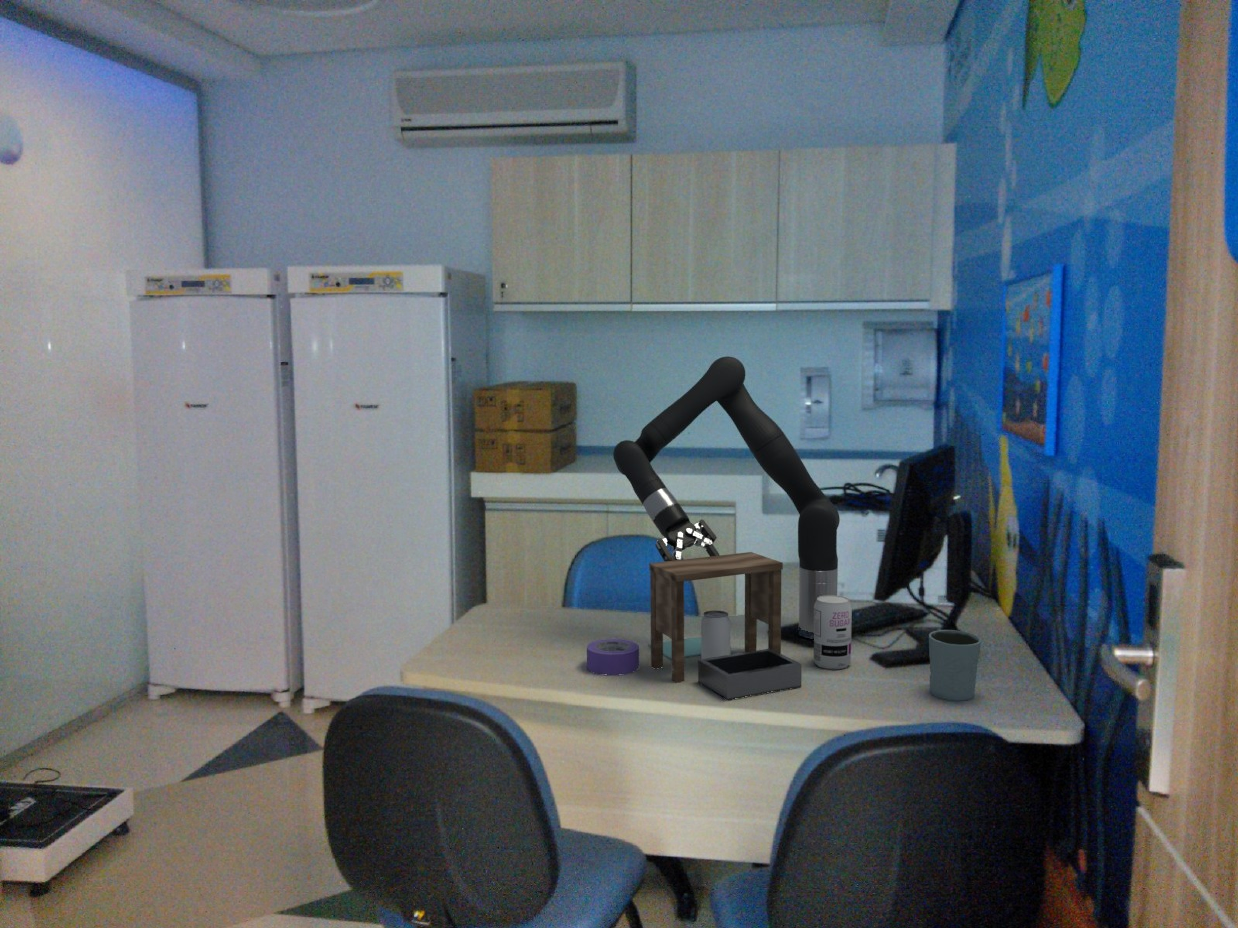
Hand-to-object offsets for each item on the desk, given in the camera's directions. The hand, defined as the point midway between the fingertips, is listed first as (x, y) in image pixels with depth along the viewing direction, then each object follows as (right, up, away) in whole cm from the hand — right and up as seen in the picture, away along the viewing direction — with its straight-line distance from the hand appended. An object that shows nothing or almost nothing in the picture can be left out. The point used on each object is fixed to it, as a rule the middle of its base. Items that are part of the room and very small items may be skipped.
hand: (703, 567), depth 226 cm
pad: (-4, -20, +6) cm, 21 cm away
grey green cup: (+49, -23, -26) cm, 60 cm away
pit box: (+8, -23, -19) cm, 31 cm away
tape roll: (-21, -22, -7) cm, 31 cm away
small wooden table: (+2, -21, -7) cm, 22 cm away
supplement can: (+28, -21, -7) cm, 36 cm away
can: (+2, -22, -7) cm, 23 cm away
